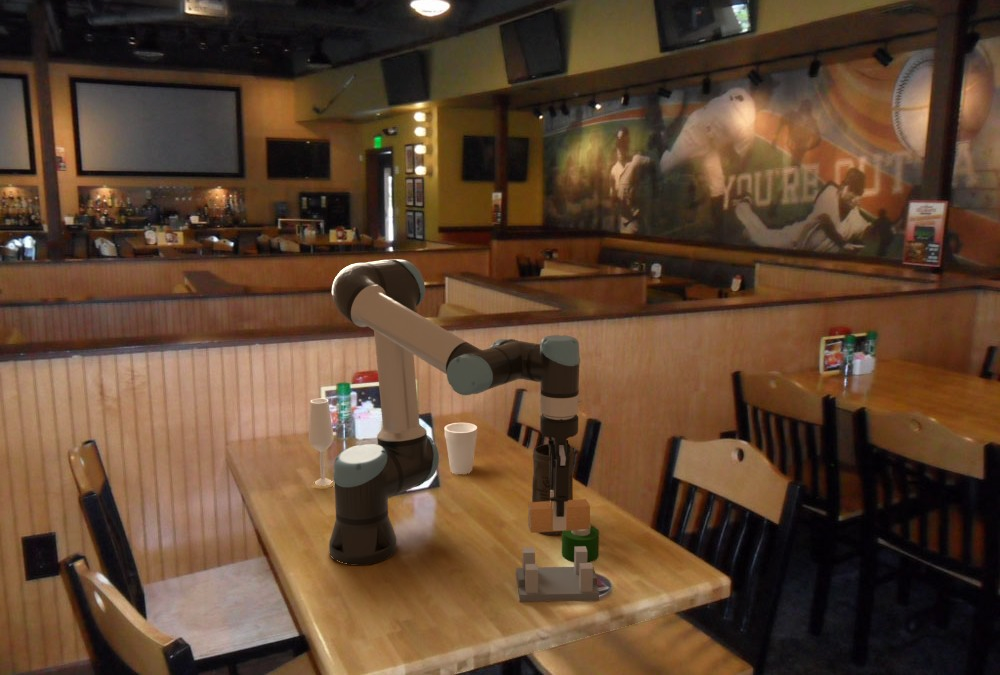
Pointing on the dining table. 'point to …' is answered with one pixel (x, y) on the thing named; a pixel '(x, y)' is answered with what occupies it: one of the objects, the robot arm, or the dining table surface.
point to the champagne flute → (320, 433)
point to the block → (543, 513)
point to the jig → (557, 579)
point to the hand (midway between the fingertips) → (557, 524)
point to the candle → (581, 543)
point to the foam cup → (461, 446)
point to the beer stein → (547, 477)
